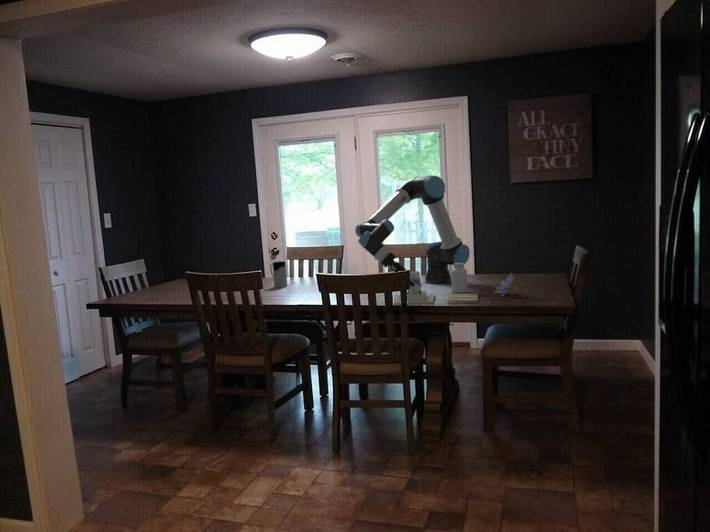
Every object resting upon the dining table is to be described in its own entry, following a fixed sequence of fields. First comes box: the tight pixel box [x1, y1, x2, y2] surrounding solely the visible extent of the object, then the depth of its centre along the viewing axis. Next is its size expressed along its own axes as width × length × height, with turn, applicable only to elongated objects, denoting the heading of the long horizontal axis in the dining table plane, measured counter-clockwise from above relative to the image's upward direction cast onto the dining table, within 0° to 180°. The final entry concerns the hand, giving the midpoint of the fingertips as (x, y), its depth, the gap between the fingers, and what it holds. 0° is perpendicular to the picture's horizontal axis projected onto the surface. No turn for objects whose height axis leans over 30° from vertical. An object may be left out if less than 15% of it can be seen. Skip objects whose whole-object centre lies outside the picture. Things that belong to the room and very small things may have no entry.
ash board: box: [447, 293, 479, 305], centre depth 285 cm, size 18×14×1 cm
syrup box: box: [407, 270, 422, 295], centre depth 289 cm, size 6×6×14 cm
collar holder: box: [392, 290, 436, 306], centre depth 290 cm, size 20×20×4 cm
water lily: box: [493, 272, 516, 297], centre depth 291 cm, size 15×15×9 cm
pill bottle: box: [450, 263, 468, 294], centre depth 305 cm, size 8×8×15 cm
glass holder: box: [269, 261, 289, 288], centre depth 360 cm, size 9×14×15 cm, turn 41°
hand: (419, 288), depth 289 cm, fingers closed on syrup box, 7 cm apart
